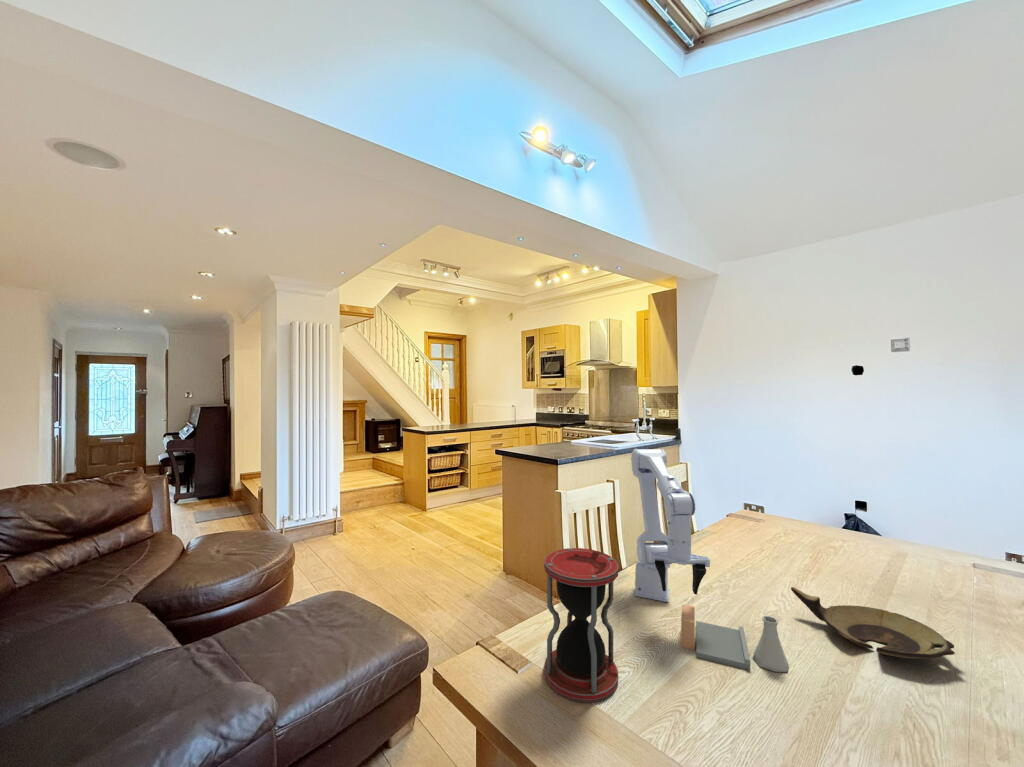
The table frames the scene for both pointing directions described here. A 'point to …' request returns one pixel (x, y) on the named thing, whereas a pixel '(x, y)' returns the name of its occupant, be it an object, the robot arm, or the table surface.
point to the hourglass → (581, 625)
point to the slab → (688, 626)
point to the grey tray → (722, 645)
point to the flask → (770, 648)
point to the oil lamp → (880, 629)
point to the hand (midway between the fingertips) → (679, 591)
